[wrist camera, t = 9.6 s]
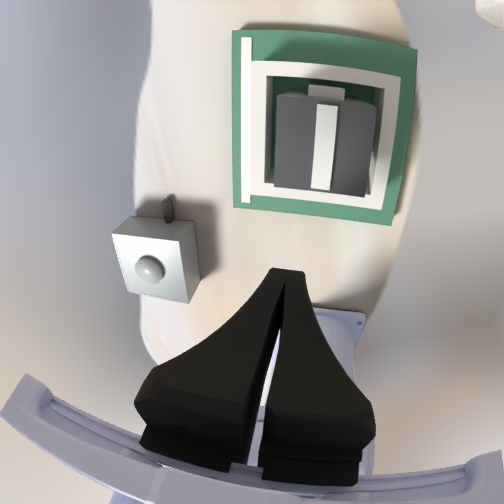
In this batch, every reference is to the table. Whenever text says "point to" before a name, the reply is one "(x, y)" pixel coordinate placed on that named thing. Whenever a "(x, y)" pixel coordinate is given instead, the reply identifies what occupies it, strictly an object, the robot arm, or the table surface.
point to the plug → (323, 141)
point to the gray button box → (158, 256)
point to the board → (298, 79)
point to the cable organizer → (491, 12)
